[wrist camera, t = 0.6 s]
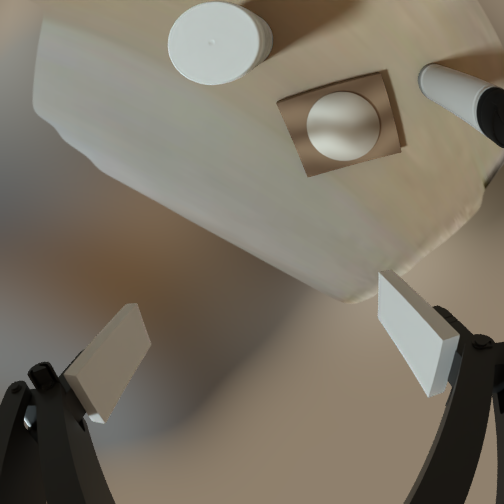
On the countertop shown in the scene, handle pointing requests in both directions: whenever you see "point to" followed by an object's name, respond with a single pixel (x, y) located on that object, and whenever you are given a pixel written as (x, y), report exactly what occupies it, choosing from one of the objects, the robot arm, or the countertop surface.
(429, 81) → the travel mug
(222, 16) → the supplement tub
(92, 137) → the countertop surface
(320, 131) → the serving board
